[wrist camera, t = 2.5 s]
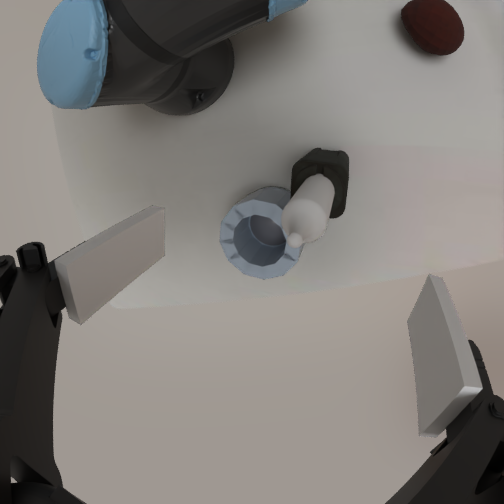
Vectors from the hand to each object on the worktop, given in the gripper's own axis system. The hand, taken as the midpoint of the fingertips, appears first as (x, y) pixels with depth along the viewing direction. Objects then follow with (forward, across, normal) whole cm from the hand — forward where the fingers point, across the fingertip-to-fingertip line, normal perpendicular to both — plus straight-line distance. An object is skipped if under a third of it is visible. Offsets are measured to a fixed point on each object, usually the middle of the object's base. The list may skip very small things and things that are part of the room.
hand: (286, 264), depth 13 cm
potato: (+27, +10, +22) cm, 36 cm away
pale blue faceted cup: (+27, -6, -9) cm, 29 cm away
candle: (+27, 0, 0) cm, 27 cm away
